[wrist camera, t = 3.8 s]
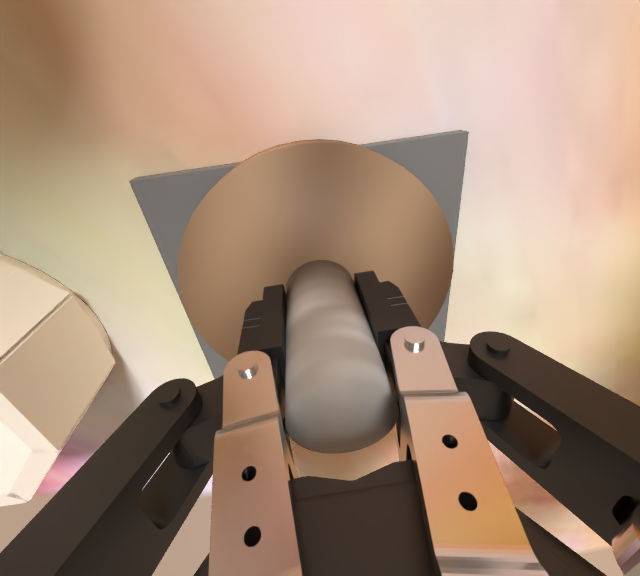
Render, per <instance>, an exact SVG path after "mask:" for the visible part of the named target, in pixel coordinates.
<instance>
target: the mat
mask: <svg viewBox="0 0 640 576" xmlns="http://www.w3.org/2000/svg"><path fill="white" fill-rule="evenodd" d="M467 141H468V132H467V131H462V130H458V131H451V132H444V133H437V134H431V135H424V136H417V137H410V138H403V139H396V140H390V141H383V142H376V143H369V144H362V145H360V146H363V147H366V148H368V149H371V150H374V151H376V152H379V153H380V154H382V155H384V156H386V157H387V158H389V159H391V160H393V161H394V162H396V163H398V164H399V165H401V166H402V167H404V168H405V169H406V170H408V171H409V172H410V173H411V174H413V175H414V176H415V177H416V178H418V179H419V180H420V181H421V182H422V183H423V185H424V186H425V187H426V188H427V189H428V190H429V191H430V192H431V193H432V195H433V197H434V198H435V200H436V201H437V203H438V204H439V206H440V207H441V209H442V211H443V214H444V216H445V218H446V220H447V223H448V226H449V230H450V233H451V237H452V243H453V253H454V252H455V243H456V235H457V226H458V218H459V209H460V201H461V192H462V184H463V175H464V167H465V158H466V149H467ZM239 163H241V162H239ZM239 163H232V164H225V165H219V166H212V167H205V168H198V169H191V170H184V171H178V172H171V173H164V174H157V175H150V176H143V177H137V178H135V179H133V180H131V181H129V182H130V184H131V187H132V189H133V191H134V193H135V196H136V198H137V200H138V203H139V205H140V207H141V210H142V212H143V214H144V217H145V219H146V221H147V223H148V226H149V228H150V230H151V233H152V235H153V237H154V240H155V242H156V244H157V247H158V249H159V251H160V254H161V256H162V258H163V260H164V263H165V265H166V267H167V270H168V272H169V274H170V277H171V279H172V281H173V284H174V286H175V288H176V290H177V293H178V295H179V297H180V300H181V302H182V304H183V301H182V298H181V295H180V289H179V284H178V257H179V249H180V245H181V241H182V238H183V235H184V232H185V229H186V227H187V225H188V223H189V221H190V219H191V217H192V215H193V213H194V211H195V210H196V208H197V207H198V205H199V204H200V203H201V201H202V200H203V198H204V197H205V196H206V194H207V193H208V192H209V191H210V189H211V188H212V187H213V186H214V185H215V184H216V183H217V182H218V181H219V180H220V179H221V178H222V177H223V176H224V175H225V174H226V173H227V172H229V171H230V170H231V169H233V168H234V167H235V166H237V165H238V164H239ZM450 286H451V284H450ZM449 295H450V288H449V291H448V294H447V297H446V299H445V302H444V304H443V306H442V308H441V310H440V312H439V314H438V315H437V317H436V318H435V320H434V321H433V323H432V325H431V326H430V327H429V328H428V330H429V331H431V332H433V333H434V334H435V335H436V336H437V338H438V340H439V341H442V342H444V337H445V329H446V320H447V312H448V303H449ZM183 307H184V304H183ZM184 309H185V307H184ZM185 311H186V310H185ZM186 314H187V312H186ZM187 316H188V314H187ZM188 318H189V316H188ZM189 320H190V318H189ZM190 323H191V325H192V327H193V330H194V332H195V334H196V337H197V339H198V341H199V344H200V346H201V348H202V350H203V353H204V355H205V357H206V360H207V362H208V364H209V367H210V369H211V371H212V374H213V376H214V378H215V379H217V378H219V377H221V376H222V375H224V369H225V367H226V365H227V364H228V362H229V361H228V360H226V359H225V358H223V357H222V356H221V355H220V354H218V353H217V352H216V351H215V350H214V349H212V348H211V347H210V345H209V344H208V343H207V342H206V341H205V340H204V339H203V338H202V337H201V335H200V334H199V333H198V331H197V330H196V328H195V327H194V326H193V324H192V322H191V320H190Z"/></svg>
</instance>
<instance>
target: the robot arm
mask: <svg viewBox="0 0 640 576" xmlns="http://www.w3.org/2000/svg"><path fill="white" fill-rule="evenodd" d="M354 283H355V287H356V290H357V292H358V295H359V298H360V301H361V304H362V306H363V309H364V312H365V315H366V317H367V320H368V323H369V326H370V329H371V331H372V334H373V337H374V340H375V343H376V345H377V348H378V351H379V353H380V356H381V359H382V362H383V364H384V367H385V370H386V373H387V375H388V378H389V381H390V384H391V387H392V389H393V392H394V395H395V398H396V400H397V403H398V407H399V414H398V418H397V421H396V423H395V425H394V428H395V435H396V441H397V448H398V455H399V462H393V463H391V464H389V465H387V466H385V467H383V468H381V469H379V470H376V471H374V472H372V473H370V474H368V475H366V476H364V477H361V478H359V479H357V480H354V481H345V480H337V479H328V478H320V477H311V476H306V477H300V478H298V474H297V469H296V464H295V459H294V453H293V448H292V442H291V437H290V436H289V434H288V432H287V430H286V425H285V380H286V293H285V288H284V285H283V284H280V285H273V286H267V287H264V291H263V300H259V301H253V302H252V303H251V304H250V305H249V306H248V308H247V309H246V310H245V315H244V321H243V326H242V331H241V336H240V342H239V347H238V352H237V356H235V357H234V358H233V359H231V360H230V361H229V362H228V364H227V365H226V367H225V369H224V375H222V376H221V377H219V378H217V379H215V380H213V381H210V382H208V383H205V384H203V385H200V386H198V387H196V386H195V384H194V383H193V382H192V381H191V380H189V379H184V378H182V379H174V380H171V381H168V382H166V383H164V384H162V385H161V386H159V387H158V388H156V389H155V390H154V391H153V392H152V393H151V394H150V395H149V396H148V397H147V398H146V399H145V400H144V401H143V402H142V403H141V404H140V405H139V407H138V408H137V409H136V410H135V411H134V412H133V413H132V414H131V415H130V416H129V417H128V418H127V419H126V420H125V421H124V422H123V424H122V425H121V426H120V427H119V428H118V429H117V430H116V431H115V432H114V433H113V434H112V435H111V436H110V437H109V438H108V439H107V440H106V442H105V443H104V444H103V445H102V446H101V447H100V448H99V449H98V450H97V451H96V452H95V453H94V454H93V455H92V456H91V457H90V459H89V460H88V461H87V462H86V463H85V464H84V465H83V466H82V467H81V468H80V469H79V470H78V471H77V472H76V473H75V474H74V476H73V477H72V478H71V479H70V480H69V481H68V482H67V483H66V484H65V485H64V486H63V487H62V488H61V489H60V490H59V491H58V493H57V494H56V495H55V496H54V497H53V498H52V499H51V500H50V501H49V502H48V503H47V504H46V505H45V507H44V508H43V509H42V510H41V511H40V512H39V513H38V514H37V515H36V516H35V517H34V518H33V519H32V520H31V521H30V522H29V523H28V524H27V525H26V526H25V528H24V529H23V530H22V531H21V532H20V533H19V534H18V535H17V536H16V537H15V538H14V539H13V540H12V541H11V543H9V545H8V546H7V547H6V548H5V549H4V550H3V551H2V552H1V553H0V576H152V574H153V572H154V571H155V569H156V567H157V566H158V564H159V562H160V561H161V559H162V557H163V556H164V553H165V552H166V551H167V549H168V547H169V546H170V544H171V542H172V541H173V539H174V537H175V536H176V534H177V532H178V531H179V529H180V527H181V526H182V524H183V523H184V521H185V519H186V518H187V516H188V514H189V512H190V511H191V509H192V507H193V506H194V504H195V502H196V501H197V499H198V498H199V496H200V494H201V493H202V491H203V489H204V488H205V486H206V484H207V483H208V481H209V479H210V478H211V476H212V474H213V482H212V506H211V530H210V552H209V554H208V555H207V557H206V558H205V560H204V561H203V562H202V564H201V565H200V567H199V568H198V570H197V571H196V573H195V574H194V576H606V575H605V574H604V573H602V572H601V571H600V570H598V569H597V568H596V567H594V566H593V565H592V564H590V563H589V562H588V561H586V560H585V559H584V558H582V557H581V556H580V555H578V554H577V553H576V552H574V551H573V550H572V549H570V548H569V547H568V546H566V545H565V544H564V543H562V542H561V541H560V540H558V539H557V538H556V537H554V536H553V535H552V534H550V533H549V532H548V531H546V530H545V529H544V528H542V527H541V526H540V525H538V524H537V523H536V522H534V521H533V520H532V519H530V518H529V517H528V516H526V515H525V514H524V513H522V512H521V511H520V510H518V509H517V508H516V507H514V504H513V502H512V499H511V497H510V494H509V492H508V489H507V487H506V485H505V482H504V480H503V477H502V475H501V472H500V470H499V467H498V465H497V462H496V460H495V458H494V455H493V453H492V450H491V448H490V445H489V443H488V441H489V442H491V443H492V444H493V445H494V446H495V447H496V448H498V449H499V450H500V451H501V452H502V453H503V454H505V455H506V456H507V457H508V458H509V459H510V460H512V461H513V462H514V463H515V464H516V465H517V466H519V467H520V468H521V469H522V470H523V471H524V472H526V473H527V474H528V475H529V476H530V477H531V478H533V479H534V480H535V481H536V482H537V483H538V484H540V485H541V486H542V487H543V488H544V489H545V490H547V491H548V492H549V493H550V494H551V495H552V496H554V497H555V498H556V499H557V500H558V501H559V502H561V503H562V504H563V505H564V506H565V507H566V508H567V509H569V510H570V511H571V512H572V513H573V514H574V515H576V516H577V517H578V518H579V519H580V520H581V521H583V522H584V523H585V524H586V525H587V526H588V527H590V528H591V529H592V530H593V531H594V532H595V533H597V534H598V535H599V536H600V537H601V538H602V539H604V540H605V541H606V542H607V543H608V544H609V545H611V546H612V549H613V554H614V556H615V559H616V561H617V563H618V565H619V567H620V568H621V570H622V572H623V576H640V407H639V406H638V405H636V404H634V403H632V402H630V401H628V400H627V399H625V398H623V397H621V396H619V395H618V394H616V393H614V392H612V391H610V390H608V389H607V388H605V387H603V386H601V385H599V384H597V383H596V382H594V381H592V380H590V379H588V378H586V377H585V376H583V375H581V374H579V373H577V372H575V371H574V370H572V369H570V368H568V367H566V366H565V365H563V364H561V363H559V362H557V361H555V360H554V359H552V358H550V357H548V356H546V355H544V354H543V353H541V352H539V351H537V350H535V349H533V348H532V347H530V346H528V345H526V344H524V343H522V342H521V341H519V340H517V339H515V338H513V337H511V336H509V335H506V334H503V333H499V332H482V333H479V334H477V335H475V336H474V337H473V338H472V339H471V341H470V345H467V344H455V343H446V342H442V341H439V340H438V338H437V336H436V335H435V334H434V333H433V332H431V331H429V330H427V329H425V328H422V327H421V325H420V323H419V322H418V320H417V318H416V317H415V315H414V313H413V311H412V310H411V308H410V306H409V305H408V304H407V301H406V299H405V298H404V297H403V294H402V293H401V291H400V289H399V287H397V286H396V285H394V284H393V283H391V282H390V281H385V282H379V280H378V278H377V276H376V274H375V272H374V271H366V272H360V273H354ZM514 398H515V399H517V400H518V401H519V402H521V403H522V404H524V405H525V406H527V407H528V408H529V409H531V410H532V411H534V412H535V413H537V414H538V415H539V416H541V417H542V418H544V419H545V420H547V421H548V422H549V423H551V424H552V425H553V426H554V427H555V428H556V430H557V431H558V432H557V431H556V430H554V429H553V428H552V427H550V426H549V425H547V424H546V423H544V422H543V421H542V420H540V419H539V418H537V417H536V416H534V415H533V414H532V413H530V412H529V411H527V410H526V409H525V408H523V407H522V406H520V405H519V404H517V403H516V402H515V401H513V400H514ZM169 452H170V454H169ZM168 454H169V455H168ZM167 455H168V457H167V458H166V456H167ZM165 458H166V459H165ZM164 459H165V461H164V462H163V460H164ZM162 462H163V463H162ZM161 463H162V465H161V466H160V464H161ZM159 466H160V467H159ZM158 467H159V469H158V470H157V468H158ZM156 470H157V471H156ZM155 471H156V473H155V474H154V472H155ZM153 474H154V475H153ZM152 475H153V477H152V478H151V476H152ZM150 478H151V479H150ZM149 479H150V481H149V482H148V480H149ZM147 482H148V483H147ZM146 483H147V485H146V486H145V484H146ZM144 486H145V487H144ZM143 487H144V489H143ZM142 489H143V490H142Z"/></svg>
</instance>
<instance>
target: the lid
mask: <svg viewBox="0 0 640 576" xmlns="http://www.w3.org/2000/svg"><path fill="white" fill-rule="evenodd" d="M453 260H454V253H453V243H452V237H451V233H450V230H449V226H448V223H447V220H446V218H445V216H444V214H443V211H442V209H441V207H440V206H439V204H438V203H437V201H436V200H435V198H434V197H433V195H432V193H431V192H430V191H429V190H428V189H427V188H426V187H425V186H424V185H423V183H422V182H421V181H420V180H419V179H418V178H416V177H415V176H414V175H413V174H411V173H410V172H409V171H408V170H406V169H405V168H404V167H402V166H401V165H399V164H398V163H396V162H394V161H393V160H391V159H389V158H387V157H386V156H384V155H382V154H380V153H379V152H376V151H374V150H371V149H368V148H366V147H363V146H360V145H357V144H352V143H347V142H343V141H335V140H321V139H317V140H303V141H295V142H291V143H286V144H282V145H277V146H275V147H272V148H269V149H267V150H264V151H262V152H259V153H257V154H255V155H253V156H251V157H250V158H248V159H246V160H244V161H242V162H241V163H239V164H238V165H237V166H235V167H234V168H233V169H231V170H230V171H229V172H227V173H226V174H225V175H224V176H223V177H222V178H221V179H220V180H219V181H218V182H217V183H216V184H215V185H214V186H213V187H212V188H211V189H210V191H209V192H208V193H207V194H206V196H205V197H204V198H203V200H202V201H201V203H200V204H199V205H198V207H197V208H196V210H195V211H194V213H193V215H192V217H191V219H190V221H189V223H188V225H187V227H186V229H185V232H184V235H183V238H182V241H181V245H180V249H179V257H178V284H179V289H180V295H181V298H182V301H183V304H184V307H185V310H186V312H187V314H188V316H189V318H190V320H191V322H192V324H193V326H194V327H195V328H196V330H197V331H198V333H199V334H200V335H201V337H202V338H203V339H204V340H205V341H206V342H207V343H208V344H209V345H210V347H211V348H212V349H214V350H215V351H216V352H217V353H218V354H220V355H221V356H222V357H223V358H225V359H226V360H228V361H230V360H231V359H233V358H234V357H235V356H237V352H238V347H239V342H240V336H241V331H242V326H243V321H244V315H245V310H246V309H247V308H248V306H249V305H250V304H251V303H252V302H253V301H259V300H263V291H264V287H267V286H273V285H280V284H283V285H284V288H285V293H286V380H285V425H286V430H287V432H288V434H289V436H290V437H291V438H292V439H293V440H294V441H295V442H296V443H297V444H299V445H300V446H302V447H304V448H306V449H309V450H312V451H316V452H321V453H345V452H351V451H355V450H359V449H362V448H365V447H367V446H369V445H372V444H374V443H375V442H377V441H379V440H380V439H382V438H383V437H384V436H385V435H387V434H388V433H389V432H390V430H391V429H392V428H393V427H394V425H395V423H396V421H397V418H398V414H399V407H398V403H397V400H396V398H395V395H394V392H393V389H392V387H391V384H390V381H389V378H388V375H387V373H386V370H385V367H384V364H383V362H382V359H381V356H380V353H379V351H378V348H377V345H376V343H375V340H374V337H373V334H372V331H371V329H370V326H369V323H368V320H367V317H366V315H365V312H364V309H363V306H362V304H361V301H360V298H359V295H358V292H357V290H356V287H355V283H354V273H360V272H366V271H374V272H375V274H376V276H377V278H378V280H379V282H385V281H390V282H391V283H393V284H394V285H396V286H397V287H399V289H400V291H401V293H402V294H403V297H404V298H405V299H406V301H407V304H408V305H409V306H410V308H411V310H412V311H413V313H414V315H415V317H416V318H417V320H418V322H419V323H420V325H421V327H422V328H425V329H427V330H428V328H429V327H430V326H431V325H432V323H433V321H434V320H435V318H436V317H437V315H438V314H439V312H440V310H441V308H442V306H443V304H444V302H445V299H446V297H447V294H448V291H449V288H450V284H451V279H452V273H453Z"/></svg>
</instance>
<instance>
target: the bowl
mask: <svg viewBox="0 0 640 576" xmlns="http://www.w3.org/2000/svg"><path fill="white" fill-rule="evenodd" d="M115 364H116V363H115V359H114V358H113V356H112V349H111V344H110V341H109V338H108V335H107V333H106V331H105V329H104V328H103V326H102V324H101V322H100V321H99V320H98V318H97V317H96V315H95V314H94V313H93V312H92V311H91V309H90V308H89V307H88V306H87V305H86V304H85V303H84V302H83V301H82V300H81V299H80V298H79V297H77V296H76V295H75V294H74V293H73V292H72V291H70V290H69V289H68V288H66V287H65V286H64V285H62V284H61V283H60V282H58V281H56V280H55V279H53V278H52V277H50V276H48V275H47V274H45V273H43V272H41V271H39V270H37V269H35V268H34V267H32V266H30V265H28V264H25V263H23V262H20V261H18V260H16V259H13V258H11V257H8V256H5V255H2V254H0V507H1V506H6V505H13V504H19V503H26V502H27V501H30V500H31V498H32V496H33V495H34V493H35V492H36V490H37V489H38V487H39V485H40V484H41V482H42V481H43V479H44V477H45V476H46V474H47V473H48V471H49V469H50V468H51V466H52V465H53V463H54V462H55V460H56V458H57V457H58V455H59V454H60V452H61V450H62V449H63V447H64V446H65V444H66V443H67V441H68V439H69V438H70V436H71V435H72V433H73V431H74V430H75V428H76V427H77V425H78V424H79V422H80V420H81V419H82V417H83V416H84V414H85V412H86V411H87V409H88V408H89V406H90V404H91V403H92V401H93V400H94V398H95V396H96V395H97V393H98V391H99V390H100V388H101V387H102V385H103V383H104V382H105V380H106V379H107V377H108V375H109V374H110V372H111V370H112V369H113V367H114V365H115Z"/></svg>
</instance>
